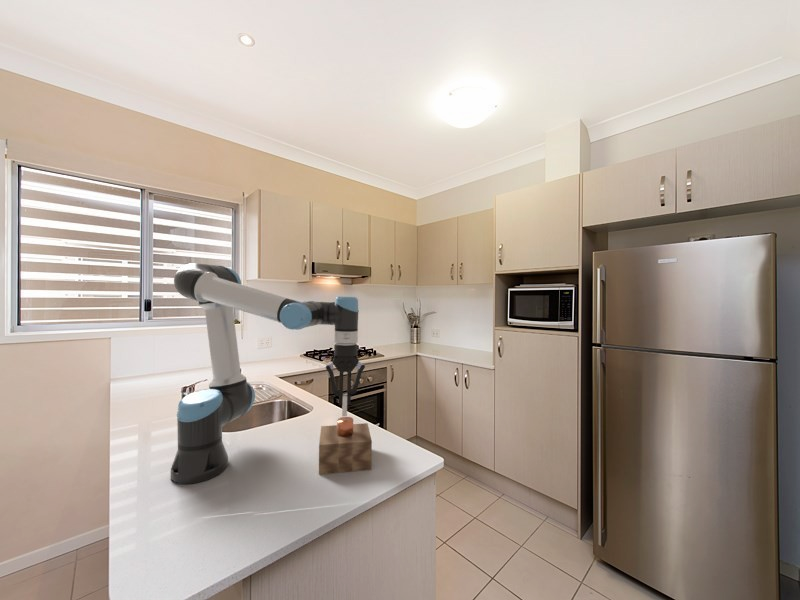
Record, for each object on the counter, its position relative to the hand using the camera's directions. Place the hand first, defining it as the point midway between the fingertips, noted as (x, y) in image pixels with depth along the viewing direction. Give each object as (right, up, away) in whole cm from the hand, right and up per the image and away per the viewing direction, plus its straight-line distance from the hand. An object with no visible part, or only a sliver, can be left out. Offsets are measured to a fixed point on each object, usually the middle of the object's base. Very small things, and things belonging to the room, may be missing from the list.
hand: (344, 414), depth 106 cm
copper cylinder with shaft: (0, -12, 0) cm, 12 cm away
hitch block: (0, -15, 0) cm, 15 cm away
